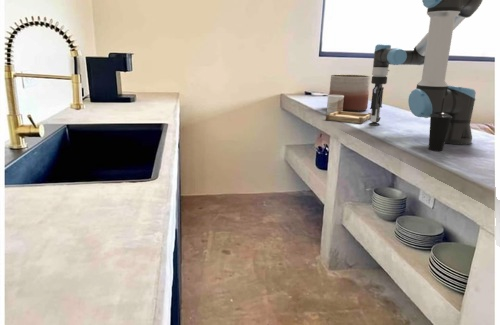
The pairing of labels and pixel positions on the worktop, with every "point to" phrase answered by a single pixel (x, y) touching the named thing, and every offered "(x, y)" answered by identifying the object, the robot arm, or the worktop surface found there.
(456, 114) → the robot arm
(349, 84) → the planter
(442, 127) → the drinking cup
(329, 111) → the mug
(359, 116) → the golden square tray
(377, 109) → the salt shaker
